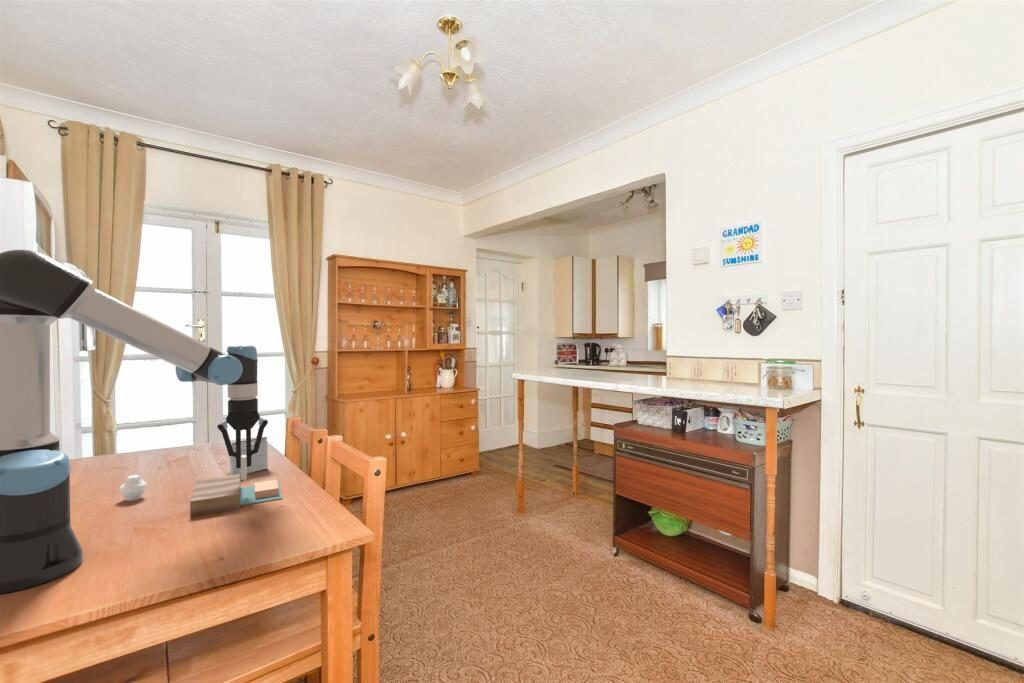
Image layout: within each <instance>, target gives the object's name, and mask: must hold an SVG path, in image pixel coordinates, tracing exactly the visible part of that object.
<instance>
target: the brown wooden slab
mask: <svg viewBox="0 0 1024 683" xmlns="http://www.w3.org/2000/svg"><path fill="white" fill-rule="evenodd" d="M194 486H195V487H194V489H193V492H192V495H191V497H190V498H191V499H190V500H189V501H190V505H189V506H190V507H189V508H190V509H189V510H190V512H189V513H190V518H191V517H197V516H198V517H199V516H203V515H208V514H209V515H210V514H214V513H220V512H226V511H231V510H238V509H240V507H241V506H240V488H241V475H240V474H238V475H231V474H230V475H224V476H217V477H211V478H203V479H201V478H200V479H196V482H195V485H194Z"/></svg>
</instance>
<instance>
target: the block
mask: <svg viewBox="0 0 1024 683" xmlns="http://www.w3.org/2000/svg"><path fill="white" fill-rule="evenodd" d="M277 482H278V480H277V479H272V480H264V481H258V482H254V484H253V486H254V488H255V499H256V498H262V497H268V496H274V495H278V484H277Z"/></svg>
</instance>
